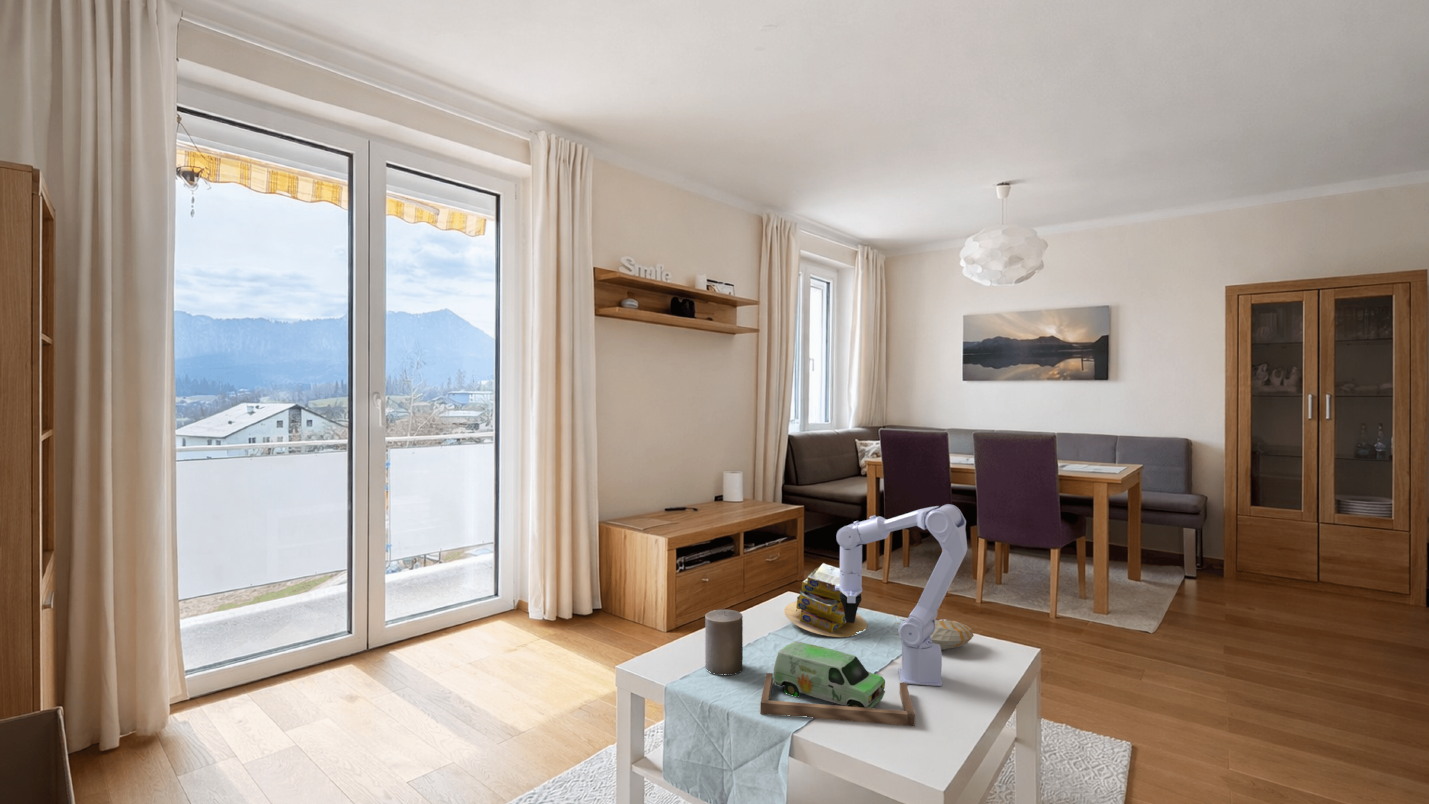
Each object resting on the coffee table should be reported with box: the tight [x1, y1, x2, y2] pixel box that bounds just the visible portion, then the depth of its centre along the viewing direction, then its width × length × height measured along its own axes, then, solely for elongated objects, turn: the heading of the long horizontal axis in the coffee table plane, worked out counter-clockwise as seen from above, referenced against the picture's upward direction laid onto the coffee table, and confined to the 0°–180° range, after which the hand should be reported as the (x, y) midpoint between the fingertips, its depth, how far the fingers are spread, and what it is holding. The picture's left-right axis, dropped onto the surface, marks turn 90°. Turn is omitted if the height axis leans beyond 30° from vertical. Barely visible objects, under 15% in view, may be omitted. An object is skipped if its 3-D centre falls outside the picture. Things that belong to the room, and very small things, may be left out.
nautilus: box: [893, 617, 975, 650], centre depth 196 cm, size 8×22×15 cm
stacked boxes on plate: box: [784, 562, 868, 638], centre depth 212 cm, size 25×25×17 cm
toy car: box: [772, 641, 886, 708], centre depth 163 cm, size 11×25×10 cm, turn 55°
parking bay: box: [759, 672, 916, 727], centre depth 160 cm, size 33×16×2 cm, turn 81°
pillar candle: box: [704, 609, 744, 676], centre depth 179 cm, size 10×10×15 cm
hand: (850, 622), depth 183 cm, fingers closed
